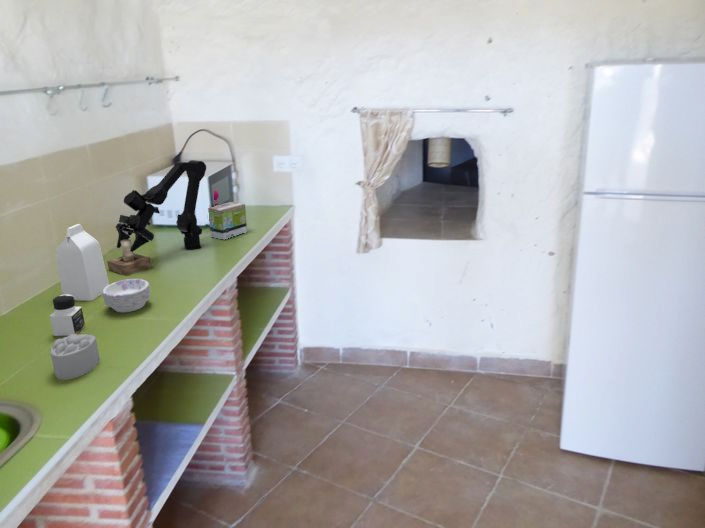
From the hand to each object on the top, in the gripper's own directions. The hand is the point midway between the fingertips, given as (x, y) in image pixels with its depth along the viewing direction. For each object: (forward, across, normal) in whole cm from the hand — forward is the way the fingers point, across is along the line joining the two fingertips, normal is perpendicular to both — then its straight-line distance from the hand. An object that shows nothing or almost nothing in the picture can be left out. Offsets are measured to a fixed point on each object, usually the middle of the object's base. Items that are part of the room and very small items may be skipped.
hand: (124, 249), depth 244 cm
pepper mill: (-39, -18, +52) cm, 67 cm away
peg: (+5, 0, +7) cm, 9 cm away
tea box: (-33, 0, +46) cm, 57 cm away
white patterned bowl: (+23, +35, -10) cm, 43 cm away
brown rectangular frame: (+5, 0, +7) cm, 9 cm away
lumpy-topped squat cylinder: (+47, +60, -35) cm, 84 cm away
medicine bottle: (+38, +36, -26) cm, 59 cm away
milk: (+23, +10, -11) cm, 28 cm away
